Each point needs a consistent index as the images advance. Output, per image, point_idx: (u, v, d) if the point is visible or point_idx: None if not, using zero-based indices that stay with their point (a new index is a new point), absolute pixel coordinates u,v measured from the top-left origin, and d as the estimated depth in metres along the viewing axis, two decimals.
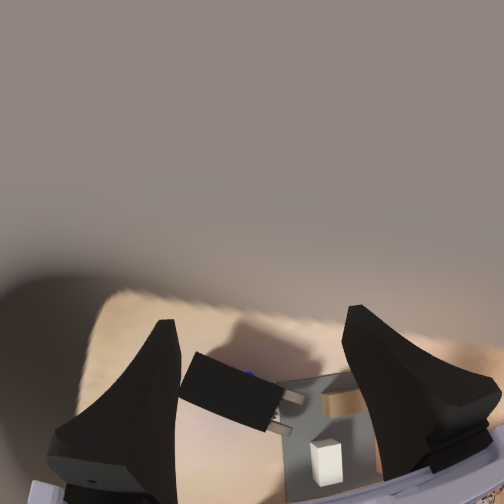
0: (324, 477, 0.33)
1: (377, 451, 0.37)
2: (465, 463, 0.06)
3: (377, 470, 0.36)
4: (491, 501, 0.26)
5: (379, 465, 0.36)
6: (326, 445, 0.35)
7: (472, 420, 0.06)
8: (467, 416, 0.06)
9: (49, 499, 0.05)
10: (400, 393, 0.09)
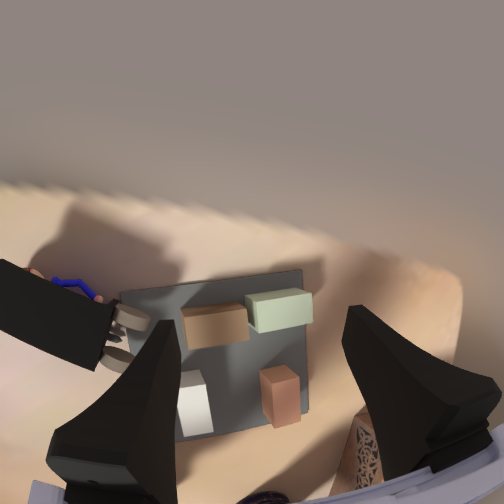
0: (188, 426, 0.29)
1: (262, 389, 0.35)
2: (465, 463, 0.06)
3: (264, 412, 0.35)
4: None
5: (265, 407, 0.34)
6: (186, 385, 0.29)
7: (472, 420, 0.06)
8: (467, 416, 0.06)
9: (49, 499, 0.05)
10: (400, 393, 0.09)
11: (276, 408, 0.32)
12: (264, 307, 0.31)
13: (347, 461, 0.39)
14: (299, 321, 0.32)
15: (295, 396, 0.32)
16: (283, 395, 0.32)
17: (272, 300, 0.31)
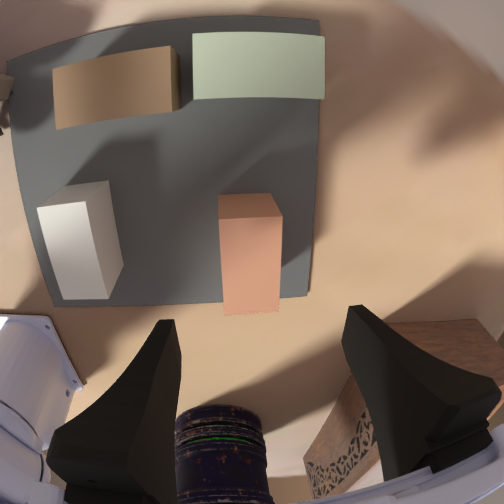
0: (66, 281, 0.16)
1: None
2: (465, 463, 0.06)
3: None
4: None
5: None
6: (59, 202, 0.15)
7: (471, 421, 0.06)
8: (467, 416, 0.06)
9: (49, 499, 0.05)
10: (400, 393, 0.09)
11: (227, 274, 0.17)
12: (210, 46, 0.12)
13: (351, 393, 0.29)
14: (291, 89, 0.13)
15: (270, 258, 0.17)
16: (244, 249, 0.17)
17: (230, 34, 0.12)
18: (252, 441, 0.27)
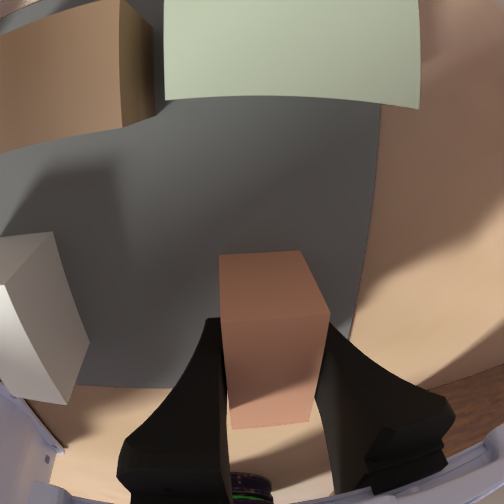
0: (9, 378, 0.10)
1: None
2: (414, 486, 0.06)
3: None
4: None
5: None
6: None
7: (420, 442, 0.06)
8: (410, 438, 0.06)
9: (49, 499, 0.05)
10: (343, 405, 0.08)
11: (236, 390, 0.10)
12: None
13: None
14: (365, 84, 0.06)
15: (305, 368, 0.10)
16: (263, 360, 0.10)
17: None
18: None
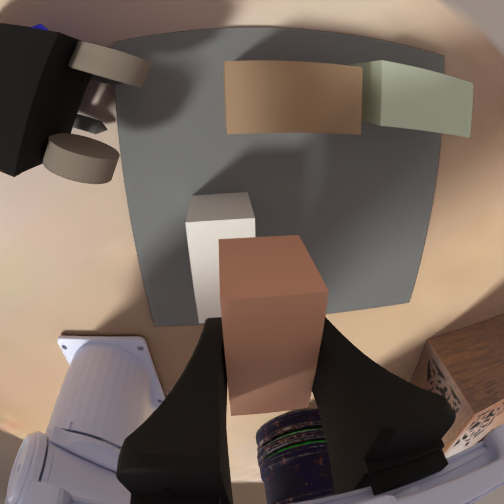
0: (208, 303, 0.17)
1: None
2: (414, 486, 0.06)
3: None
4: (485, 423, 0.21)
5: None
6: (215, 217, 0.15)
7: (420, 442, 0.06)
8: (410, 438, 0.06)
9: (49, 499, 0.05)
10: (344, 405, 0.08)
11: (235, 373, 0.11)
12: (396, 76, 0.12)
13: None
14: (451, 127, 0.13)
15: (304, 349, 0.10)
16: (262, 341, 0.10)
17: (411, 68, 0.12)
18: None
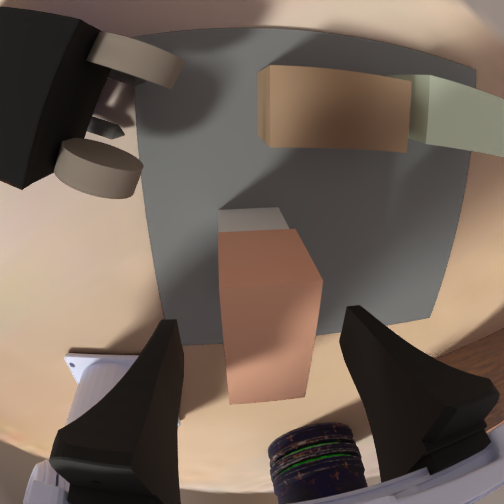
0: None
1: None
2: (463, 464, 0.06)
3: None
4: None
5: None
6: None
7: (469, 422, 0.06)
8: (464, 417, 0.06)
9: (49, 499, 0.05)
10: (397, 393, 0.09)
11: (233, 360, 0.11)
12: (442, 92, 0.11)
13: None
14: (488, 146, 0.12)
15: (300, 338, 0.11)
16: (259, 328, 0.10)
17: (456, 84, 0.11)
18: (354, 454, 0.26)
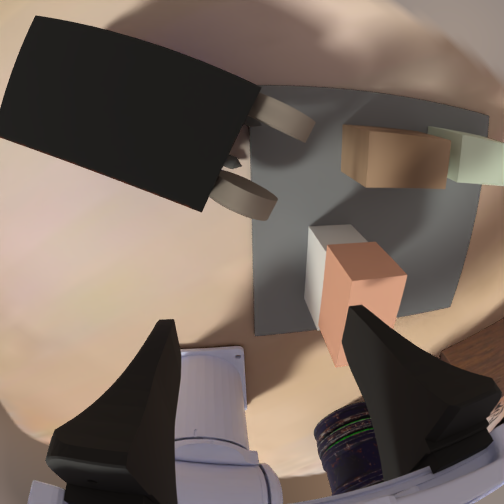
0: None
1: (326, 284, 0.19)
2: (465, 463, 0.06)
3: (320, 327, 0.20)
4: (497, 412, 0.25)
5: (325, 320, 0.19)
6: None
7: (472, 420, 0.06)
8: (467, 416, 0.06)
9: (49, 499, 0.05)
10: (400, 393, 0.09)
11: None
12: (469, 146, 0.16)
13: None
14: (497, 180, 0.17)
15: (389, 313, 0.16)
16: (368, 307, 0.16)
17: (478, 139, 0.16)
18: None
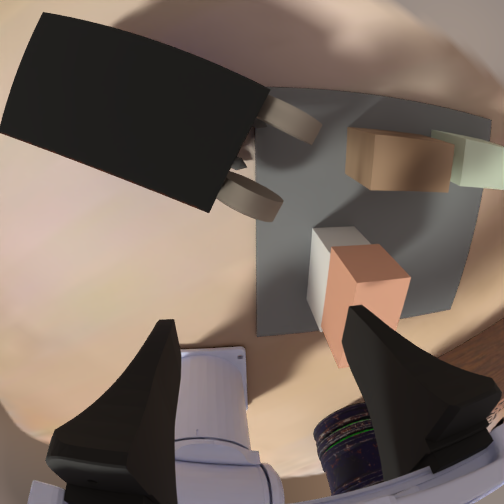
0: None
1: (330, 285, 0.19)
2: (465, 463, 0.06)
3: (323, 328, 0.20)
4: (490, 418, 0.25)
5: (328, 321, 0.19)
6: None
7: (472, 421, 0.06)
8: (467, 416, 0.06)
9: (49, 499, 0.05)
10: (400, 393, 0.09)
11: None
12: (472, 150, 0.16)
13: None
14: (499, 184, 0.18)
15: (392, 314, 0.16)
16: (372, 309, 0.16)
17: (481, 143, 0.16)
18: None
